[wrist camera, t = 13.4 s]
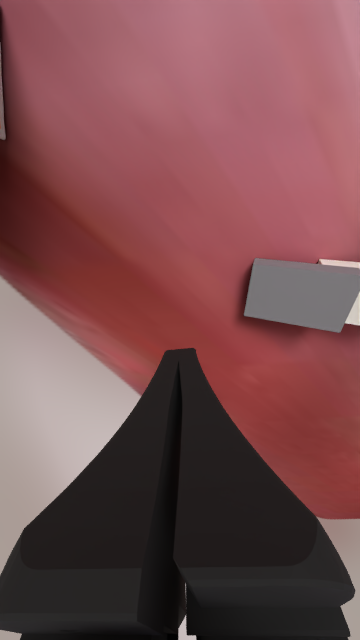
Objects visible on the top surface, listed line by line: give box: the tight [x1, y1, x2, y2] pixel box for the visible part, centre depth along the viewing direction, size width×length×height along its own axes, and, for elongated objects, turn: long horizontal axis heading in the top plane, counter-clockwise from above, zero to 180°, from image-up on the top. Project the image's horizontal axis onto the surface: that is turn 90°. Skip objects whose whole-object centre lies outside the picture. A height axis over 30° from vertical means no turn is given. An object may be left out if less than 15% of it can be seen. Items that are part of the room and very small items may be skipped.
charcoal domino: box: [244, 258, 360, 333], centre depth 17 cm, size 2×4×7 cm
